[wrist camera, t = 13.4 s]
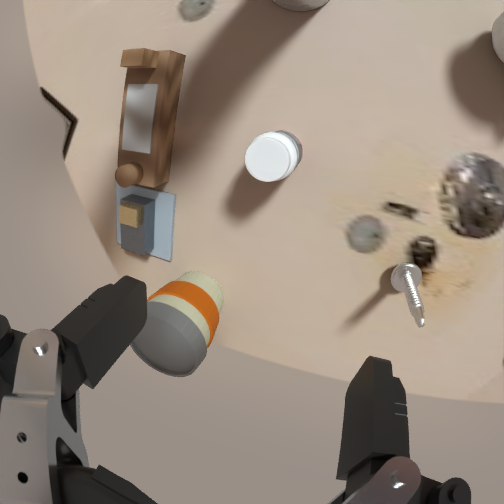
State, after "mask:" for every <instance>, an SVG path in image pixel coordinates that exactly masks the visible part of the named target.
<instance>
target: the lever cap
mask: <svg viewBox="0 0 504 504" xmlns="http://www.w3.org/2000/svg"><path fill="white" fill-rule="evenodd" d="M119 223H120V228H121V248H122V249H125V250H128V251H131V252H134V253H137V254H140V255H143V256H145V255H146V254H147V253H149V252H150V251H151V250H152V249H154V226H155V199H151V198H147V197H143V196H138V195H134V194H130V195H128V196H126V197H124V198H122V199H120V205H119Z"/></svg>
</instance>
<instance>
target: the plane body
mask: <svg viewBox="0 0 504 504" xmlns="http://www.w3.org/2000/svg"><path fill="white" fill-rule="evenodd" d="M185 57H186V55H183V54H180V53H177V52H174V51H171V50H166V51H154V50H150V49H145V48H141V49H129V50H123V54H122V59H121V65H120V67H127V73H126V80H125V87H124V95H123V103H122V112H121V123H120V135H119V150H118V168H117V170H116V173H115V179H116V182H117V183H118V185H119V186H120V187H123V188H127V187H129V186H131V185H134V184H139V185H143V186H148V187H152V188H154V187H156V186H158V185H161V184H163V183H165V182H167V181H169V173H170V162H171V153H172V143H173V135H174V127H175V119H176V112H177V105H178V98H179V91H180V85H181V79H182V73H183V68H184V62H185Z"/></svg>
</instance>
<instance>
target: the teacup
mask: <svg viewBox="0 0 504 504" xmlns="http://www.w3.org/2000/svg"><path fill="white" fill-rule="evenodd" d="M492 43H493V48H494V50H495V52H496V54H497V56H498V57H499V58H500V60H501V61H502V62H503V63H504V12H503V13H502V14H501V15H500V16H499V17H498V18H497V19H496V20H495V22H494V24H493V27H492Z"/></svg>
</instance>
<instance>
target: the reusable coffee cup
mask: <svg viewBox="0 0 504 504" xmlns="http://www.w3.org/2000/svg"><path fill="white" fill-rule="evenodd" d="M223 302H224V295H223V291H222V289H221V287H220V285H219V284H218V283H217V282H216V280H214V279H213V278H212V277H211V276H209V275H207V274H205V273H203V272H198V271H191V272H188V273H185V274H184V275H183V276H181V277H180V278H179V279H177V280H176V281H172V282H170V283H168V284H166V285H165V286H164V287H162V288H161V289H160V290H158V291H157V292H156V293H154V294H153V295H152V296H150V297H149V298H148V300H147V320H146V323H145V326H144V327H143V329H142V330H141V332H140V333H139V334H138V335H137V336H136V337H135V339H134V340H133V341H132V342H131V343H130V345H131V347H132V349H133V350H134V352H135V353H136V354H137V355H138V356H139V357H140V358H141V359H142V360H143V361H144V362H145V363H147V364H148V365H149V366H151V367H152V368H154V369H155V370H157V371H159V372H162V373H164V374H167V375H170V376H174V377H185V376H188V375H191V374H192V373H193V372H194V371H195V370H196V369H197V367H198V366H199V365H200V364H201V362H202V361H203V360H204V358H205V356H206V353H207V348H208V347H209V346H210V344H211V342H212V339H213V337H214V334H215V331H216V328H217V326H218V322H219V313H220V310H221V308H222V305H223Z"/></svg>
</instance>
